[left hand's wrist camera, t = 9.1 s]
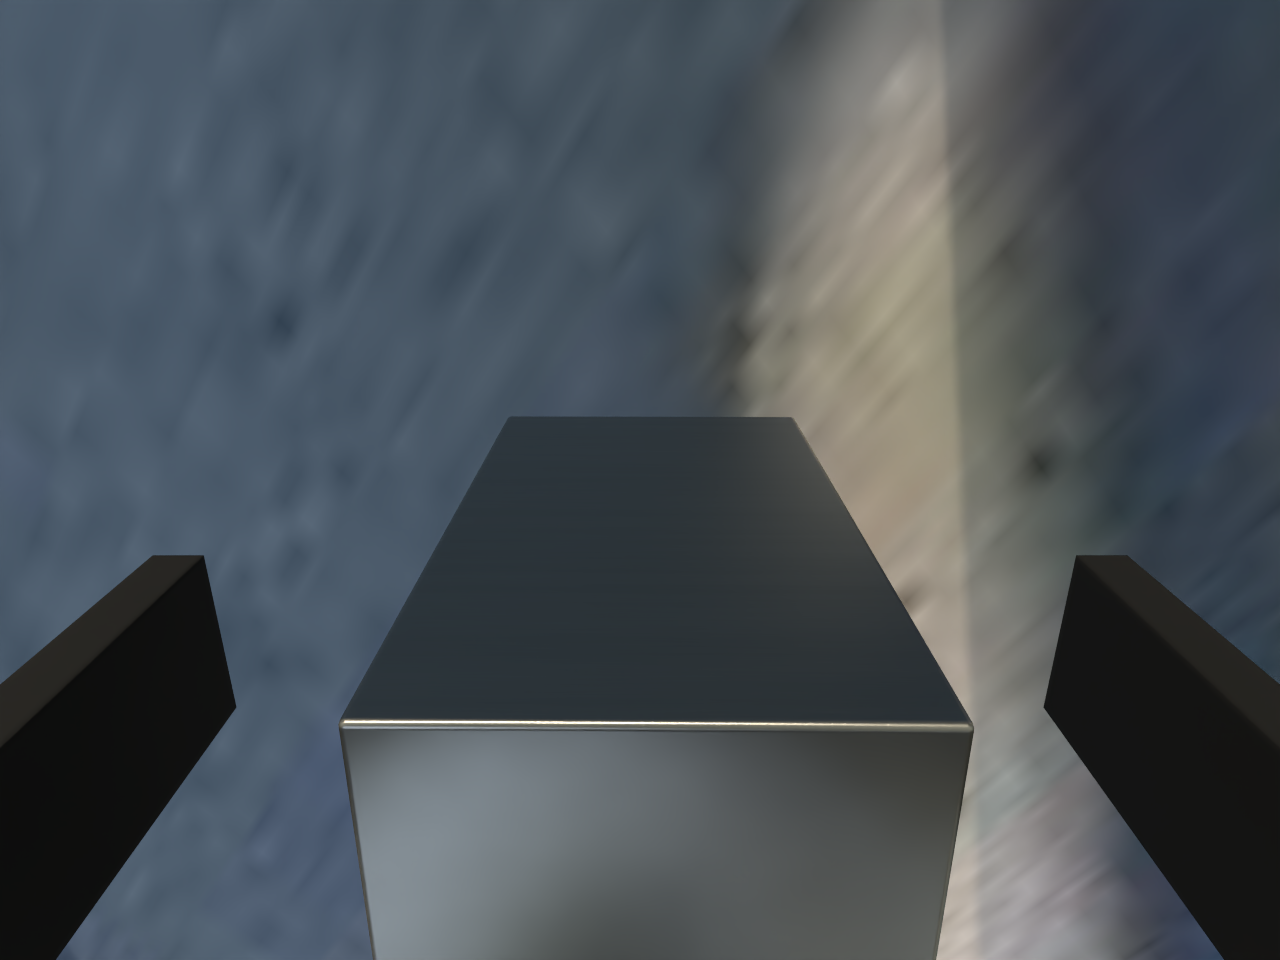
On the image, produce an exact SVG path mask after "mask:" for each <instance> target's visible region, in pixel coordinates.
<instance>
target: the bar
mask: <svg viewBox="0 0 1280 960" xmlns="http://www.w3.org/2000/svg"><path fill="white" fill-rule="evenodd" d="M339 731H340V738H341V745H342V752H343V759H344V765H345V772H346V779H347V786H348V792H349V799H350V806H351V813H352V820H353V826H354V833H355V840H356V847H357V853H358V860H359V867H360V874H361V881H362V887H363V894H364V901H365V908H366V914H367V921H368V928H369V935H370V941H371V948H372V955H373V960H936V956H937V950H938V944H939V938H940V932H941V926H942V920H943V914H944V908H945V902H946V896H947V890H948V884H949V878H950V872H951V866H952V860H953V854H954V848H955V842H956V836H957V830H958V824H959V818H960V812H961V805H962V799H963V793H964V787H965V781H966V775H967V769H968V763H969V757H970V751H971V745H972V739H973V733H974V726H973V723H972V721H971V720H970V718H969V716H968V714H967V713H966V711H965V709H964V708H963V706H962V704H961V702H960V701H959V699H958V697H957V696H956V694H955V692H954V691H953V689H952V687H951V685H950V684H949V682H948V680H947V679H946V677H945V675H944V674H943V672H942V670H941V668H940V667H939V665H938V663H937V662H936V660H935V658H934V657H933V655H932V653H931V651H930V650H929V648H928V646H927V645H926V643H925V641H924V640H923V638H922V636H921V634H920V633H919V631H918V629H917V628H916V626H915V624H914V622H913V621H912V619H911V617H910V616H909V614H908V612H907V611H906V609H905V607H904V605H903V604H902V602H901V600H900V599H899V597H898V595H897V594H896V592H895V590H894V588H893V587H892V585H891V583H890V582H889V580H888V578H887V577H886V575H885V573H884V571H883V570H882V568H881V566H880V565H879V563H878V561H877V559H876V558H875V556H874V554H873V553H872V551H871V549H870V548H869V546H868V544H867V542H866V541H865V539H864V537H863V536H862V534H861V532H860V531H859V529H858V527H857V525H856V524H855V522H854V520H853V519H852V517H851V515H850V514H849V512H848V510H847V508H846V507H845V505H844V503H843V502H842V500H841V498H840V496H839V495H838V493H837V491H836V490H835V488H834V486H833V485H832V483H831V481H830V479H829V478H828V476H827V474H826V473H825V471H824V469H823V468H822V466H821V464H820V462H819V461H818V459H817V457H816V456H815V454H814V452H813V451H812V449H811V447H810V445H809V444H808V442H807V440H806V439H805V437H804V435H803V433H802V432H801V430H800V428H799V427H798V425H797V423H796V422H795V420H794V418H791V417H509V418H508V419H507V421H506V423H505V425H504V426H503V428H502V430H501V432H500V434H499V435H498V437H497V439H496V441H495V443H494V444H493V446H492V448H491V450H490V452H489V453H488V455H487V457H486V459H485V461H484V462H483V464H482V466H481V468H480V469H479V471H478V473H477V475H476V477H475V478H474V480H473V482H472V484H471V486H470V487H469V489H468V491H467V493H466V495H465V496H464V498H463V500H462V502H461V504H460V505H459V507H458V509H457V511H456V513H455V514H454V516H453V518H452V520H451V522H450V523H449V525H448V527H447V529H446V531H445V532H444V534H443V536H442V538H441V540H440V541H439V543H438V545H437V547H436V548H435V550H434V552H433V554H432V556H431V557H430V559H429V561H428V563H427V565H426V566H425V568H424V570H423V572H422V574H421V575H420V577H419V579H418V581H417V583H416V584H415V586H414V588H413V590H412V592H411V593H410V595H409V597H408V599H407V601H406V602H405V604H404V606H403V608H402V610H401V611H400V613H399V615H398V617H397V618H396V620H395V622H394V624H393V626H392V627H391V629H390V631H389V633H388V635H387V636H386V638H385V640H384V642H383V644H382V645H381V647H380V649H379V651H378V653H377V654H376V656H375V658H374V660H373V662H372V663H371V665H370V667H369V669H368V671H367V672H366V674H365V676H364V678H363V680H362V681H361V683H360V685H359V687H358V689H357V690H356V692H355V694H354V696H353V697H352V699H351V701H350V703H349V705H348V706H347V708H346V710H345V712H344V714H343V715H342V717H341V719H340V722H339Z"/></svg>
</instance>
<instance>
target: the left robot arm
mask: <svg viewBox="0 0 1280 960" xmlns="http://www.w3.org/2000/svg"><path fill="white" fill-rule="evenodd" d="M235 708H236V703H235V699H234V694H233V689H232V685H231V680H230V675H229V671H228V666H227V661H226V657H225V652H224V647H223V643H222V638H221V634H220V629H219V624H218V620H217V615H216V610H215V606H214V601H213V596H212V592H211V587H210V582H209V578H208V573H207V569H206V564H205V559H204V555H153V556H152V557H150V558H149V559H148V560H147V561H146V562H144V563H143V564H142V565H141V566H140V567H139V568H137V569H136V570H135V571H134V572H133V573H131V574H130V575H129V576H128V577H127V578H126V579H124V580H123V581H122V582H121V583H120V584H118V585H117V586H116V587H115V588H114V589H113V590H111V591H110V592H109V593H108V594H107V595H105V596H104V597H103V598H102V599H101V600H100V601H98V602H97V603H96V604H95V605H94V606H93V607H91V608H90V609H89V610H88V611H87V612H85V613H84V614H83V615H82V616H81V617H80V618H78V619H77V620H76V621H75V622H74V623H72V624H71V625H70V626H69V627H68V628H67V629H65V630H64V631H63V632H62V633H61V634H59V635H58V636H57V637H56V638H55V639H54V640H52V641H51V642H50V643H49V644H48V645H46V646H45V647H44V648H43V649H42V650H41V651H39V652H38V653H37V654H36V655H35V656H33V657H32V658H31V659H30V660H29V661H28V662H26V663H25V664H24V665H23V666H22V667H20V668H19V669H18V670H17V671H16V672H15V673H13V674H12V675H11V676H10V677H9V678H7V679H6V680H5V681H4V682H3V683H2V684H0V960H56V959H57V957H58V956H59V955H60V953H61V952H62V950H63V949H64V948H65V946H66V945H67V943H68V942H69V941H70V939H71V938H72V936H73V935H74V934H75V932H76V931H77V929H78V928H79V927H80V925H81V924H82V922H83V921H84V920H85V918H86V917H87V915H88V914H89V913H90V911H91V910H92V908H93V907H94V906H95V904H96V903H97V901H98V900H99V899H100V897H101V896H102V894H103V893H104V892H105V890H106V889H107V887H108V886H109V885H110V883H111V882H112V880H113V879H114V878H115V876H116V875H117V873H118V872H119V871H120V869H121V868H122V866H123V865H124V864H125V862H126V861H127V859H128V858H129V857H130V855H131V854H132V852H133V851H134V850H135V848H136V847H137V845H138V844H139V843H140V841H141V840H142V838H143V837H144V836H145V834H146V833H147V832H148V830H149V829H150V827H151V826H152V825H153V823H154V822H155V820H156V819H157V818H158V816H159V815H160V813H161V812H162V811H163V809H164V808H165V806H166V805H167V804H168V802H169V801H170V799H171V798H172V797H173V795H174V794H175V792H176V791H177V790H178V788H179V787H180V785H181V784H182V783H183V781H184V780H185V778H186V777H187V776H188V774H189V773H190V771H191V770H192V769H193V767H194V766H195V764H196V763H197V762H198V760H199V759H200V757H201V756H202V755H203V753H204V752H205V750H206V749H207V748H208V746H209V745H210V743H211V742H212V741H213V739H214V738H215V736H216V735H217V734H218V732H219V731H220V729H221V728H222V727H223V725H224V724H225V722H226V721H227V720H228V718H229V717H230V715H231V714H232V713H233V711H234V710H235ZM1044 708H1045V710H1046V711H1047V713H1048V714H1049V715H1050V717H1051V718H1052V720H1053V721H1054V722H1055V724H1056V725H1057V727H1058V728H1059V729H1060V731H1061V732H1062V734H1063V735H1064V736H1065V738H1066V739H1067V741H1068V742H1069V743H1070V745H1071V746H1072V748H1073V749H1074V750H1075V752H1076V753H1077V755H1078V756H1079V757H1080V759H1081V760H1082V762H1083V763H1084V764H1085V766H1086V767H1087V769H1088V770H1089V771H1090V773H1091V774H1092V776H1093V777H1094V778H1095V780H1096V781H1097V783H1098V784H1099V785H1100V787H1101V788H1102V790H1103V791H1104V792H1105V794H1106V795H1107V797H1108V798H1109V799H1110V801H1111V802H1112V804H1113V805H1114V806H1115V808H1116V809H1117V811H1118V812H1119V813H1120V815H1121V816H1122V818H1123V819H1124V820H1125V822H1126V823H1127V825H1128V826H1129V827H1130V829H1131V830H1132V832H1133V833H1134V834H1135V836H1136V837H1137V838H1138V840H1139V841H1140V843H1141V844H1142V845H1143V847H1144V848H1145V850H1146V851H1147V852H1148V854H1149V855H1150V857H1151V858H1152V859H1153V861H1154V862H1155V864H1156V865H1157V866H1158V868H1159V869H1160V871H1161V872H1162V873H1163V875H1164V876H1165V878H1166V879H1167V880H1168V882H1169V883H1170V885H1171V886H1172V887H1173V889H1174V890H1175V892H1176V893H1177V894H1178V896H1179V897H1180V899H1181V900H1182V901H1183V903H1184V904H1185V906H1186V907H1187V908H1188V910H1189V911H1190V913H1191V914H1192V915H1193V917H1194V918H1195V920H1196V921H1197V922H1198V924H1199V925H1200V927H1201V928H1202V929H1203V931H1204V932H1205V934H1206V935H1207V936H1208V938H1209V939H1210V941H1211V942H1212V943H1213V945H1214V946H1215V948H1216V949H1217V950H1218V952H1219V953H1220V955H1221V956H1222V957H1223V959H1224V960H1280V684H1278V683H1277V682H1276V681H1275V680H1274V679H1273V678H1271V677H1270V676H1269V675H1268V674H1267V673H1265V672H1264V671H1263V670H1262V669H1261V668H1260V667H1258V666H1257V665H1256V664H1255V663H1254V662H1252V661H1251V660H1250V659H1249V658H1248V657H1247V656H1245V655H1244V654H1243V653H1242V652H1241V651H1239V650H1238V649H1237V648H1236V647H1235V646H1234V645H1232V644H1231V643H1230V642H1229V641H1228V640H1226V639H1225V638H1224V637H1223V636H1222V635H1221V634H1219V633H1218V632H1217V631H1216V630H1215V629H1213V628H1212V627H1211V626H1210V625H1209V624H1208V623H1206V622H1205V621H1204V620H1203V619H1202V618H1200V617H1199V616H1198V615H1197V614H1196V613H1195V612H1193V611H1192V610H1191V609H1190V608H1189V607H1187V606H1186V605H1185V604H1184V603H1183V602H1182V601H1180V600H1179V599H1178V598H1177V597H1176V596H1175V595H1173V594H1172V593H1171V592H1170V591H1169V590H1167V589H1166V588H1165V587H1164V586H1163V585H1162V584H1160V583H1159V582H1158V581H1157V580H1156V579H1154V578H1153V577H1152V576H1151V575H1150V574H1149V573H1147V572H1146V571H1145V570H1144V569H1143V568H1141V567H1140V566H1139V565H1138V564H1137V563H1136V562H1134V561H1133V560H1132V559H1131V558H1130V557H1128V556H1127V555H1076V559H1075V564H1074V569H1073V573H1072V578H1071V582H1070V587H1069V592H1068V596H1067V601H1066V606H1065V610H1064V615H1063V620H1062V624H1061V629H1060V634H1059V638H1058V643H1057V647H1056V652H1055V657H1054V661H1053V666H1052V671H1051V675H1050V680H1049V685H1048V689H1047V694H1046V699H1045V703H1044Z"/></svg>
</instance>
